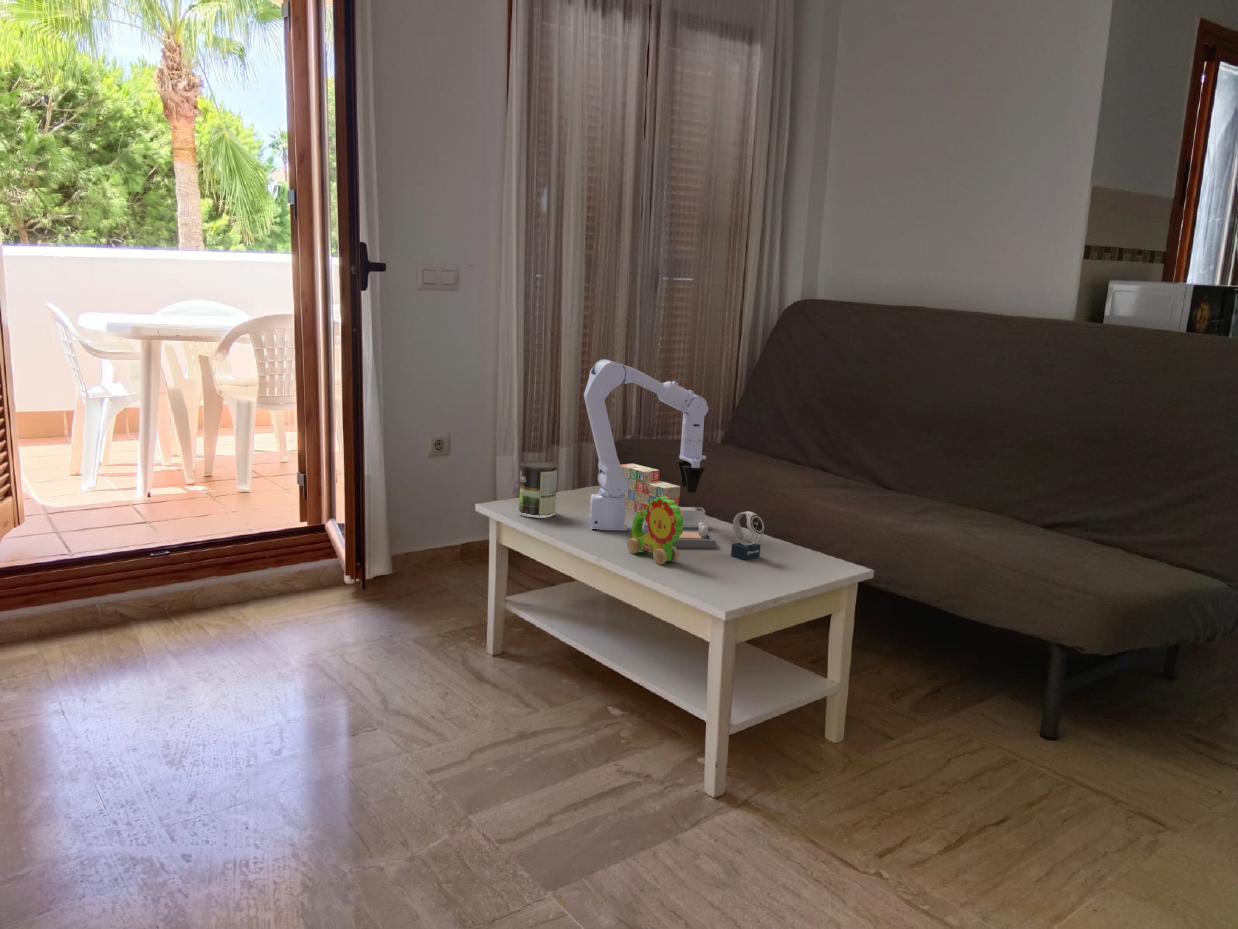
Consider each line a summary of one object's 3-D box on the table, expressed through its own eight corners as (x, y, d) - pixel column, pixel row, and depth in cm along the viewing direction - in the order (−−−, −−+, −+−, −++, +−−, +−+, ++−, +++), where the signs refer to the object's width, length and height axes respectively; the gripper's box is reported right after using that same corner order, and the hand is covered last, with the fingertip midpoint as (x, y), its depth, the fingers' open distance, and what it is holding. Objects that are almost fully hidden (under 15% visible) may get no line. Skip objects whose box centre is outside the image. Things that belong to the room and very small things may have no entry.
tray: (651, 547, 225) (652, 530, 225) (643, 532, 239) (644, 517, 238) (714, 548, 227) (716, 531, 227) (703, 533, 241) (704, 518, 240)
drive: (671, 528, 246) (672, 509, 245) (668, 524, 250) (669, 506, 249) (703, 528, 247) (705, 510, 246) (700, 525, 251) (702, 506, 250)
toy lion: (625, 552, 220) (628, 490, 217) (642, 549, 224) (646, 488, 221) (668, 569, 208) (672, 503, 205) (686, 565, 211) (690, 501, 209)
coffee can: (519, 518, 247) (521, 467, 245) (517, 509, 257) (518, 460, 255) (557, 518, 249) (559, 467, 247) (553, 510, 259) (555, 461, 257)
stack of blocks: (678, 518, 257) (681, 475, 255) (661, 521, 254) (664, 477, 251) (631, 503, 274) (633, 462, 272) (614, 505, 270) (616, 464, 268)
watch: (750, 562, 217) (754, 517, 215) (725, 554, 222) (728, 510, 221) (766, 559, 220) (769, 514, 218) (740, 551, 226) (744, 507, 224)
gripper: (712, 444, 238) (709, 495, 240) (701, 435, 252) (697, 484, 254) (685, 443, 237) (682, 494, 239) (675, 435, 251) (672, 483, 253)
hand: (688, 489), depth 247 cm, fingers open, 7 cm apart
